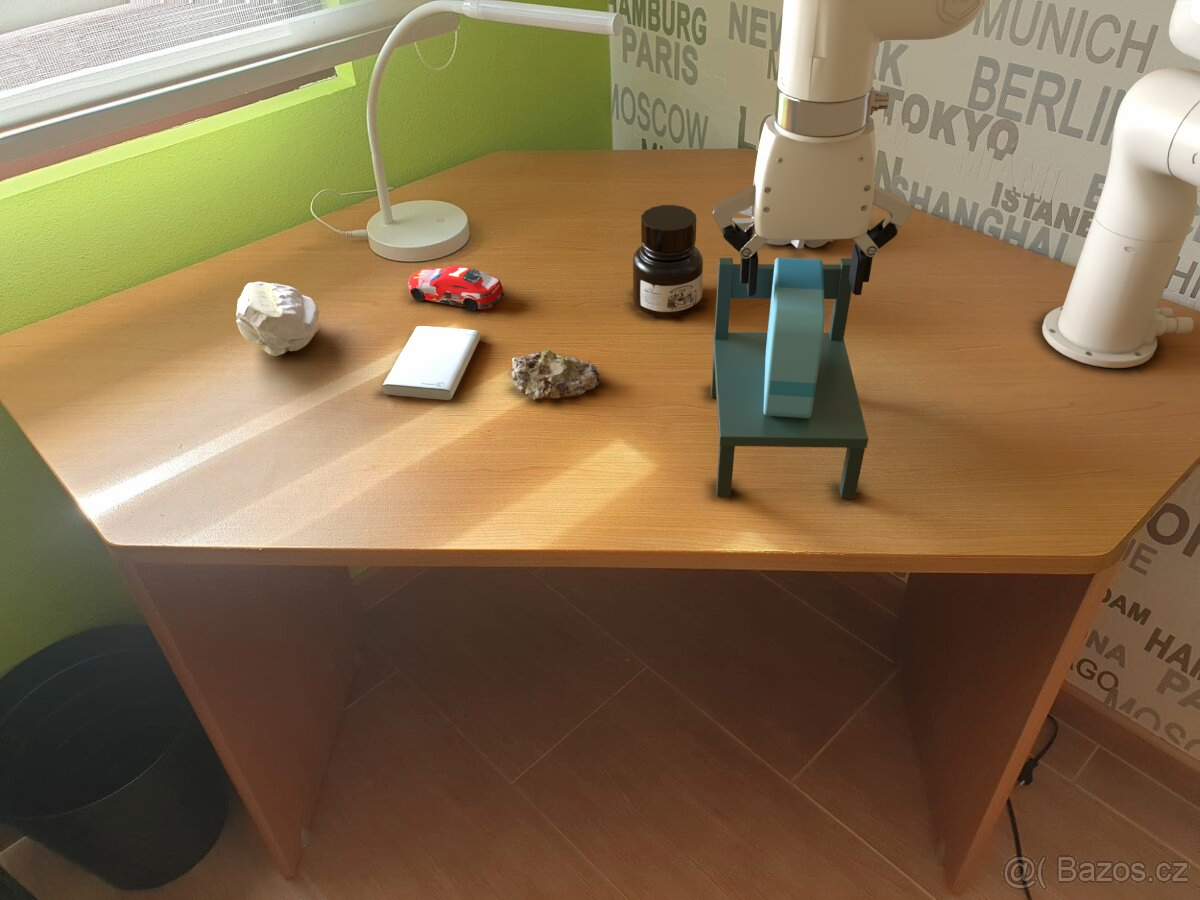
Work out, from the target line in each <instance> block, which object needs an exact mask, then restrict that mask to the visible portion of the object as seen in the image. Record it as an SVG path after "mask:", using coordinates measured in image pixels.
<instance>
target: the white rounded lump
mask: <svg viewBox="0 0 1200 900" xmlns="http://www.w3.org/2000/svg"><path fill="white" fill-rule="evenodd" d="M236 305H237V306H236V313H235V316H236V317H235V318H236V320H235V323H236V325H237V327H238V330H239V332H240V334H241V335H242V337H243V338H244V340H246V341H247V342H249V343H252V344H256V345H258V347H259V348H260V349H261V350H263V352H266V354H268V355H270V356H273V357H277V356H281V355H284V354H285V353H287V352H288V351H289V352H295V351H297V352H298V351H299V350H301V349H303V348H305V347H306V346H307V345H308V344H309V343H310V342H311V340H312V339H313V337H314V336H316V333H318V332H319V330H320V327H319V323H318V321H319V315H320V309H319V308H318V306H317V304H316V303H315V302H314V301H313V299H312V297H310V296H307V295H304V294H302V293H301V292H300V290H298V289H297V288H296V287H294V286H293V287H292V286H289V285H285V284H281V283H275V282H273V283H268V282H265V281H255V282H249V283H247V284H246V285H245V286H244V288H243V290H242V292H241V295H240V296H239V298H238V299H237V304H236Z"/></svg>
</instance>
